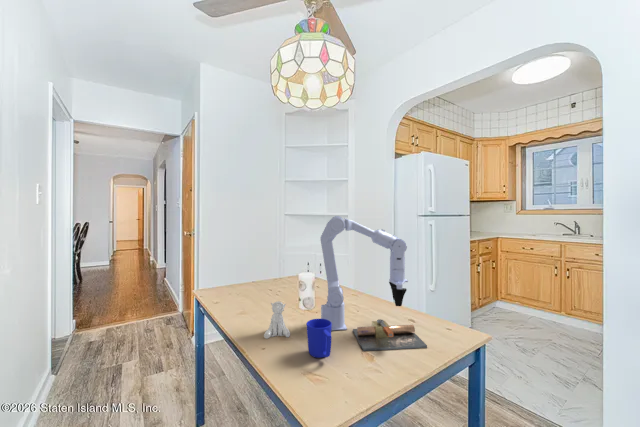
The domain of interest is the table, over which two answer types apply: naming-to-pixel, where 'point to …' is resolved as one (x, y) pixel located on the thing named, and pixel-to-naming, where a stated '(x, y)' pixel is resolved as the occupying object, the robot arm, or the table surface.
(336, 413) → the table surface
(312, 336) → the mug
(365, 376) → the table surface
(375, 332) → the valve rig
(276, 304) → the sitting furry creature
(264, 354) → the table surface
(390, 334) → the valve lever
